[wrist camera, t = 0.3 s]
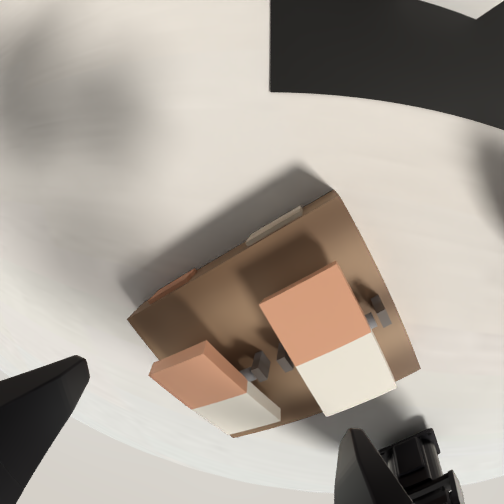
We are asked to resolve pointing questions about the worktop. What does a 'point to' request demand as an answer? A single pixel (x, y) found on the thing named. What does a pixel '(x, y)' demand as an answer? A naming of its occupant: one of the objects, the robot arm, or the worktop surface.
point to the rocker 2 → (330, 340)
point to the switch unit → (263, 285)
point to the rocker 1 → (215, 389)
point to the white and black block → (394, 52)
